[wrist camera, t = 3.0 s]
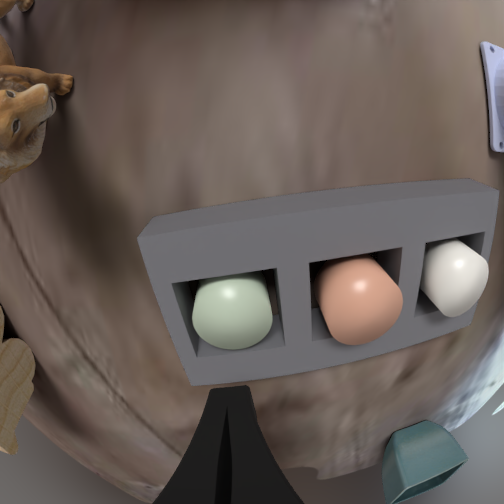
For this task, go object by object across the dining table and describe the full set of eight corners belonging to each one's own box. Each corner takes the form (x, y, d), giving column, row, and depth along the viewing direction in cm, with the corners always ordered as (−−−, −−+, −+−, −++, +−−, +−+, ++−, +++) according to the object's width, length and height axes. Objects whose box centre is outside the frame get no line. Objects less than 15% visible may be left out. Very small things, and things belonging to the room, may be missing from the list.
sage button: (262, 253, 16) (267, 280, 14) (270, 311, 18) (275, 343, 15) (190, 264, 16) (183, 293, 14) (206, 320, 18) (202, 353, 15)
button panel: (469, 178, 15) (499, 190, 12) (450, 302, 19) (470, 324, 17) (153, 217, 15) (136, 238, 13) (195, 353, 20) (191, 386, 17)
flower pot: (382, 428, 27) (405, 490, 19) (443, 405, 27) (471, 458, 19) (369, 456, 31) (385, 508, 23) (423, 437, 31) (443, 483, 22)
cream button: (464, 230, 15) (494, 250, 12) (455, 284, 17) (479, 307, 14) (417, 238, 15) (446, 262, 12) (410, 296, 17) (433, 324, 14)
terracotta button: (381, 245, 15) (407, 271, 12) (376, 304, 17) (396, 335, 14) (312, 256, 15) (328, 287, 12) (314, 317, 17) (327, 352, 14)
